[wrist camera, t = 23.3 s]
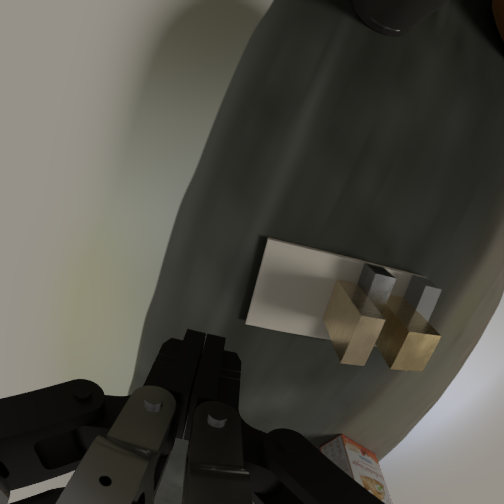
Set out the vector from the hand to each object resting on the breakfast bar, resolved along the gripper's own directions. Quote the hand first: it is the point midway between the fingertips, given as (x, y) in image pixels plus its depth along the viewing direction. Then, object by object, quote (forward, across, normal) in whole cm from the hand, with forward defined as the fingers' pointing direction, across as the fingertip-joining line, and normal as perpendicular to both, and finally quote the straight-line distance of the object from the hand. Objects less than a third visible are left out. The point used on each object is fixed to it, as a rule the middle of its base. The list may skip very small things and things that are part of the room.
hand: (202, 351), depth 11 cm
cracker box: (+27, -32, +40) cm, 58 cm away
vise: (+27, -16, +7) cm, 32 cm away
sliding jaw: (+26, -17, +7) cm, 32 cm away
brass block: (+26, -22, +7) cm, 35 cm away
